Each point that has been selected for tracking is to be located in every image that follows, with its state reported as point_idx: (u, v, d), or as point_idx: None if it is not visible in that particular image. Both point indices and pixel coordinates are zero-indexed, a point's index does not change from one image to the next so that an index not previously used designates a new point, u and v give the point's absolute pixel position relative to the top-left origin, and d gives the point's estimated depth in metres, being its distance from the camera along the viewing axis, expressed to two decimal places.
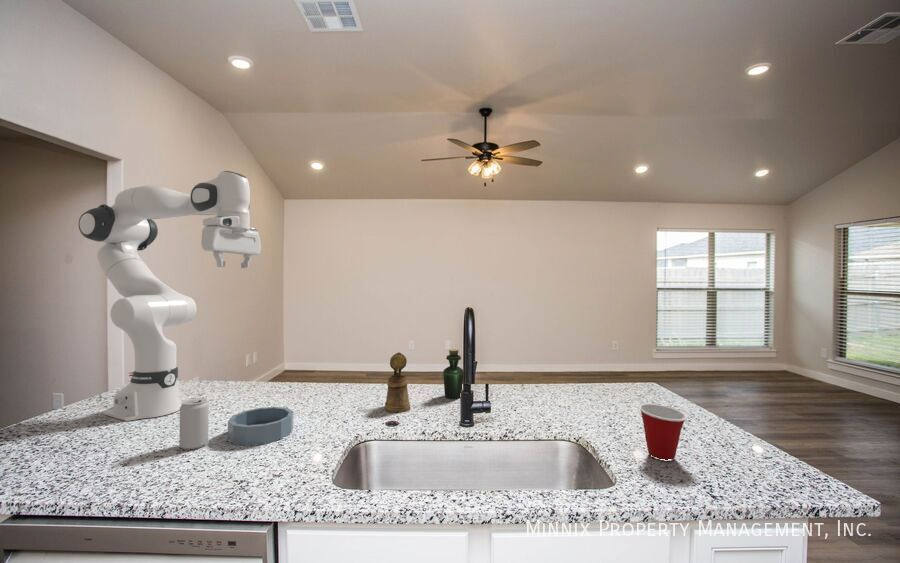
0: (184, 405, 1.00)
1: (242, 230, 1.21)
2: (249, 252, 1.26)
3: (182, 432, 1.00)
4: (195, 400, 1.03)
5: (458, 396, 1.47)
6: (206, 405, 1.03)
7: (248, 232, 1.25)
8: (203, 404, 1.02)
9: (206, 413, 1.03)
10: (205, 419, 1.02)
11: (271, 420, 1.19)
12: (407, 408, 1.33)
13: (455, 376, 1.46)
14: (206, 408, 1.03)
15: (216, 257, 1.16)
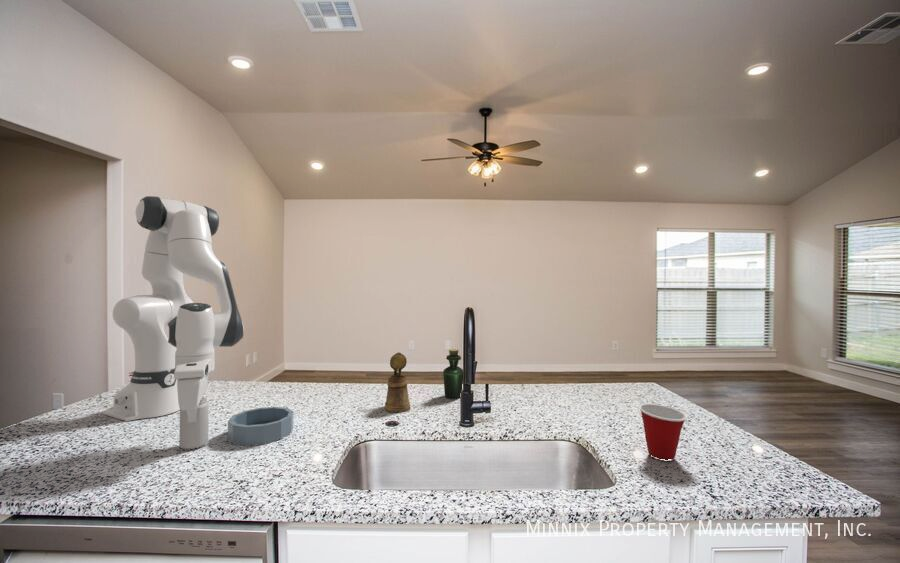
0: None
1: None
2: None
3: (182, 432, 1.00)
4: None
5: (458, 396, 1.47)
6: (206, 405, 1.03)
7: None
8: (203, 404, 1.02)
9: (206, 413, 1.03)
10: (205, 419, 1.02)
11: (271, 420, 1.19)
12: (407, 408, 1.33)
13: (455, 376, 1.46)
14: (206, 408, 1.03)
15: (189, 412, 0.98)
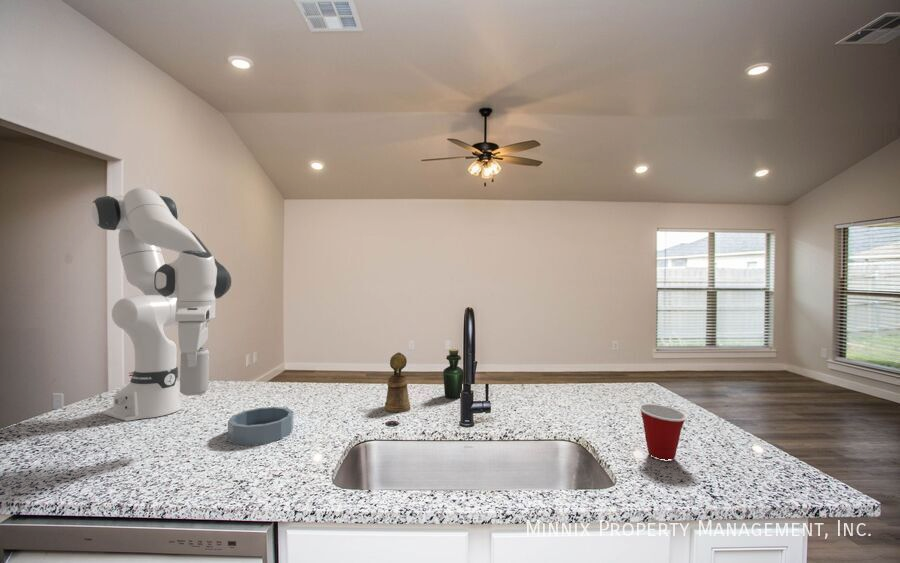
0: None
1: (209, 319, 1.04)
2: (205, 341, 1.08)
3: (182, 378, 1.00)
4: None
5: (458, 396, 1.47)
6: (207, 352, 1.03)
7: None
8: (204, 351, 1.02)
9: (207, 360, 1.03)
10: (205, 366, 1.03)
11: (271, 420, 1.19)
12: (407, 408, 1.33)
13: (455, 376, 1.46)
14: (207, 355, 1.03)
15: (190, 356, 0.98)
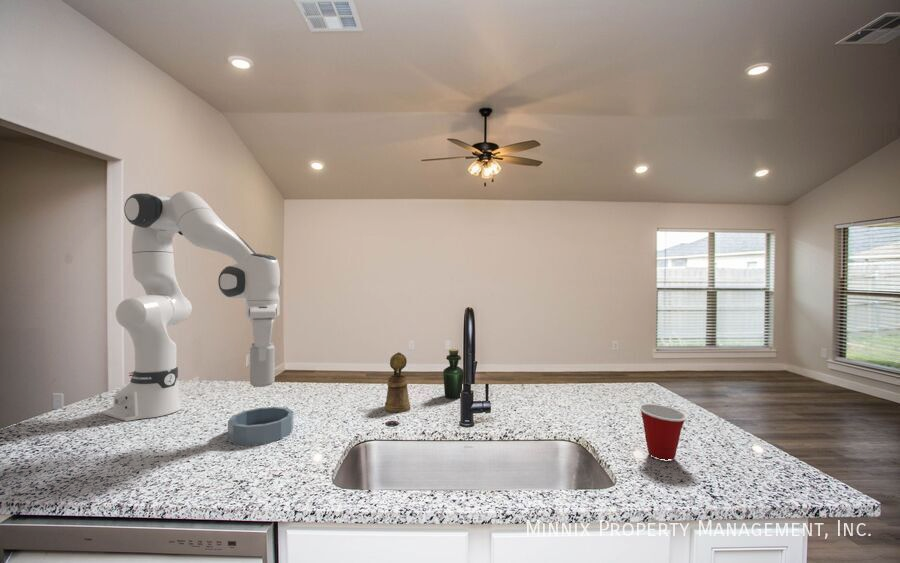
0: (255, 346, 1.09)
1: None
2: None
3: (253, 370, 1.09)
4: None
5: (458, 396, 1.47)
6: (273, 347, 1.12)
7: None
8: (271, 346, 1.11)
9: (273, 354, 1.12)
10: (272, 360, 1.11)
11: (271, 420, 1.19)
12: (407, 408, 1.33)
13: (455, 376, 1.46)
14: (273, 350, 1.12)
15: (261, 351, 1.07)
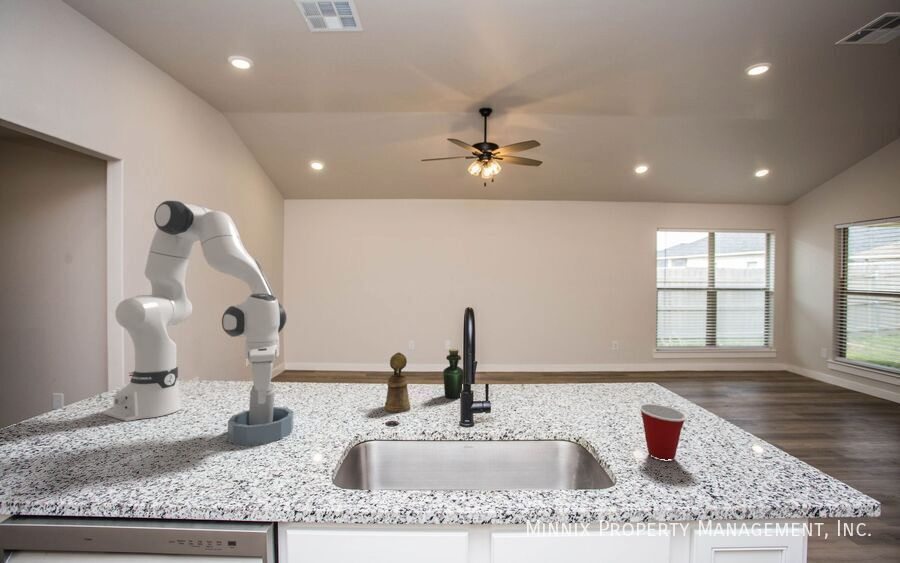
0: (255, 391, 1.10)
1: None
2: None
3: (252, 414, 1.11)
4: None
5: (458, 396, 1.47)
6: (273, 392, 1.12)
7: None
8: (271, 391, 1.12)
9: (273, 398, 1.13)
10: (271, 404, 1.12)
11: None
12: (407, 408, 1.33)
13: (455, 376, 1.46)
14: (273, 394, 1.12)
15: (260, 394, 1.06)
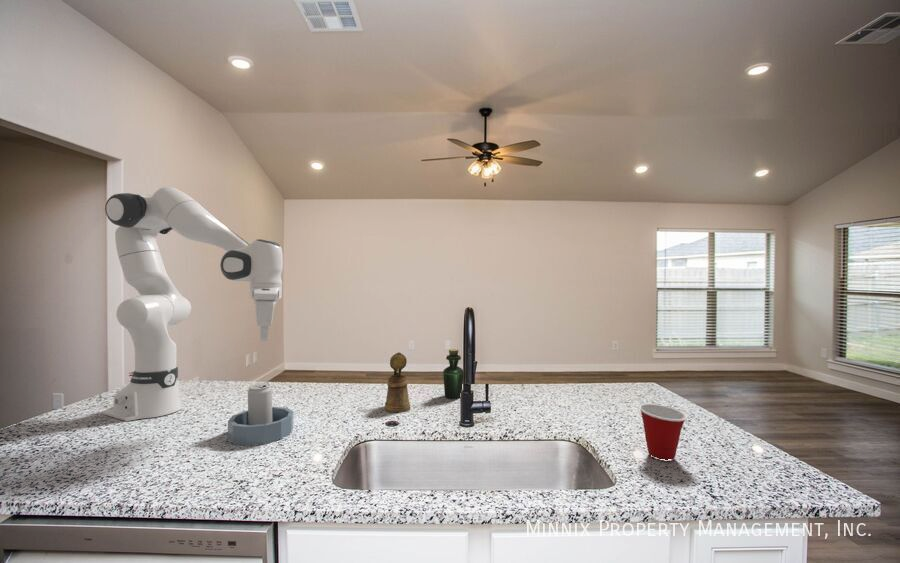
0: (252, 390, 1.11)
1: None
2: None
3: (251, 414, 1.11)
4: (260, 385, 1.15)
5: (458, 396, 1.47)
6: (270, 389, 1.14)
7: None
8: (268, 389, 1.13)
9: (270, 397, 1.14)
10: (270, 402, 1.14)
11: None
12: (407, 408, 1.33)
13: (455, 376, 1.46)
14: (270, 392, 1.14)
15: (263, 331, 1.13)
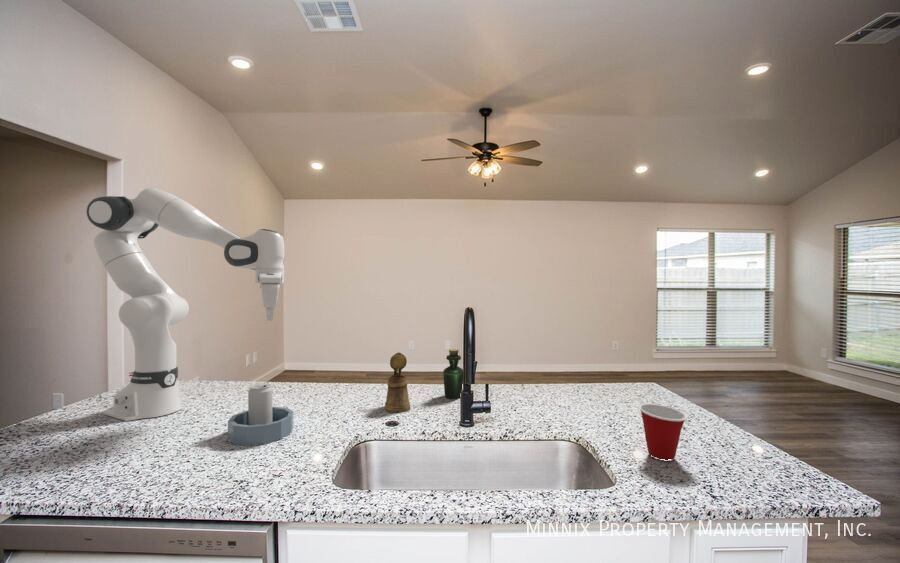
0: (253, 389, 1.12)
1: None
2: None
3: (251, 413, 1.11)
4: (261, 385, 1.15)
5: (458, 396, 1.47)
6: (271, 389, 1.15)
7: None
8: (268, 388, 1.14)
9: (271, 396, 1.14)
10: (270, 402, 1.14)
11: None
12: (407, 408, 1.33)
13: (455, 376, 1.46)
14: (271, 392, 1.14)
15: (268, 312, 1.24)
